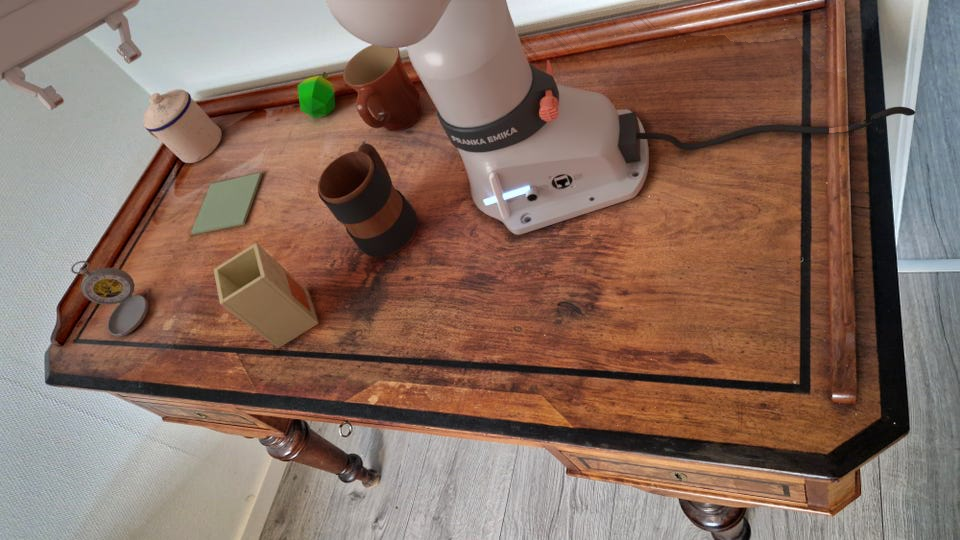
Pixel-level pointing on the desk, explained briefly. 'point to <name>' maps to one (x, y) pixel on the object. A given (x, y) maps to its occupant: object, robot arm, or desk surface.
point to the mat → (227, 204)
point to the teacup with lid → (181, 125)
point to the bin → (265, 296)
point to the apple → (316, 96)
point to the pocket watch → (114, 297)
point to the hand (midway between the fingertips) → (97, 81)
